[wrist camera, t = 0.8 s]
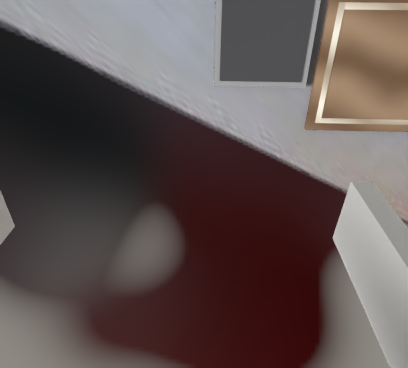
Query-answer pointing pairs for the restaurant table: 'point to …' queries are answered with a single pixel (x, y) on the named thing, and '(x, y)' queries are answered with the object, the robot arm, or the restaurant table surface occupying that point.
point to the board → (362, 68)
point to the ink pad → (264, 42)
